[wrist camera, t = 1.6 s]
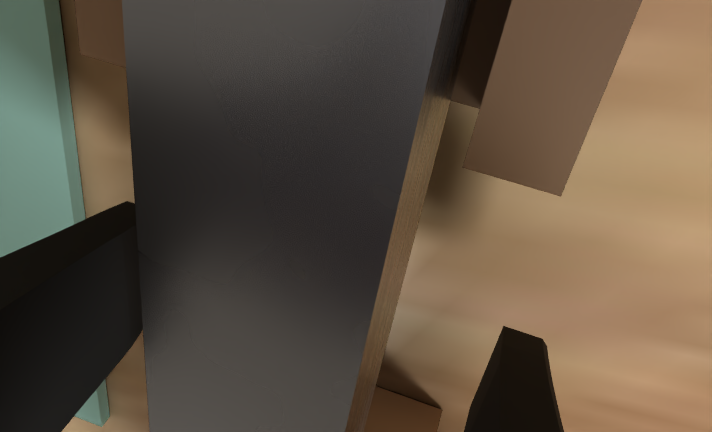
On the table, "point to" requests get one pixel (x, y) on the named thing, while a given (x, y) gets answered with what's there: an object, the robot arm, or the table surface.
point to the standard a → (400, 414)
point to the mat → (38, 140)
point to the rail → (279, 198)
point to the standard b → (493, 78)
